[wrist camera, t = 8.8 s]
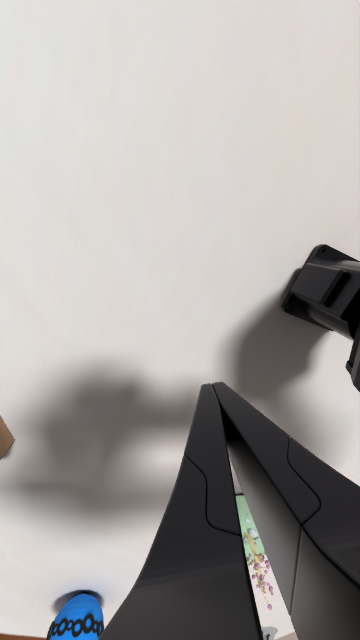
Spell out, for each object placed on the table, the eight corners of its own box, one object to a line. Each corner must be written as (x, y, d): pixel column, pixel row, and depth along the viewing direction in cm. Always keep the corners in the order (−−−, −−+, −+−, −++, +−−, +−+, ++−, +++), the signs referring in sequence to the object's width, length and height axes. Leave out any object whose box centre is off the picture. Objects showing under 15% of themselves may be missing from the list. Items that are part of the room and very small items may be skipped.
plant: (265, 572, 42) (291, 657, 33) (161, 571, 38) (161, 665, 30) (327, 489, 33) (383, 575, 25) (201, 478, 30) (216, 573, 22)
